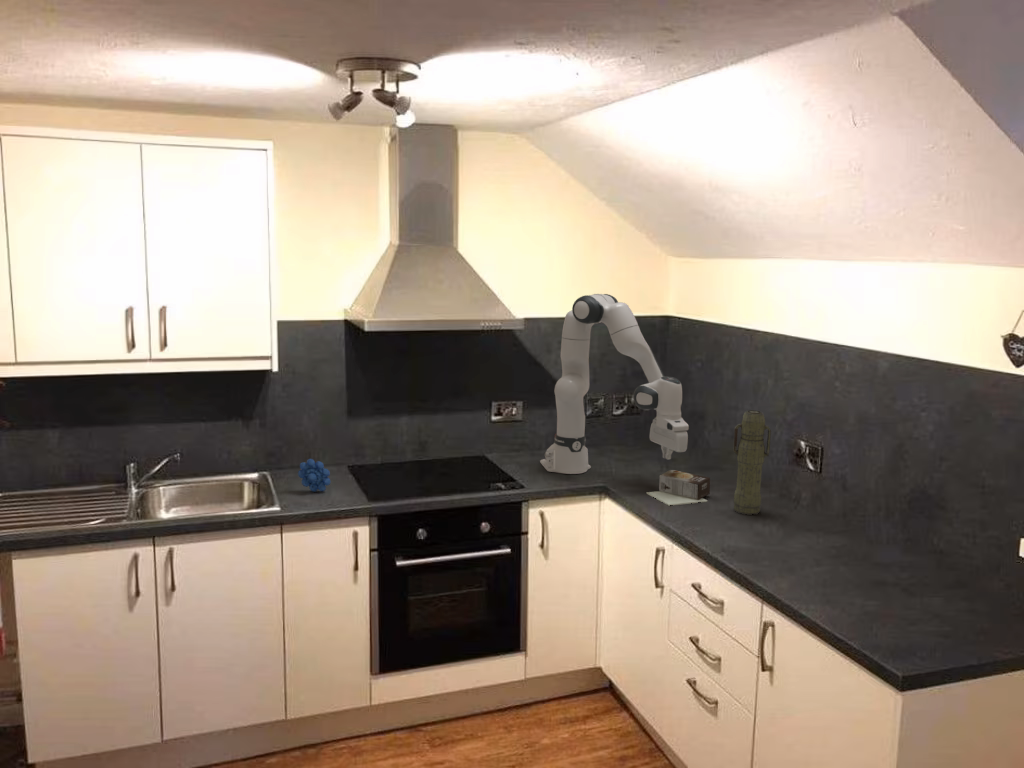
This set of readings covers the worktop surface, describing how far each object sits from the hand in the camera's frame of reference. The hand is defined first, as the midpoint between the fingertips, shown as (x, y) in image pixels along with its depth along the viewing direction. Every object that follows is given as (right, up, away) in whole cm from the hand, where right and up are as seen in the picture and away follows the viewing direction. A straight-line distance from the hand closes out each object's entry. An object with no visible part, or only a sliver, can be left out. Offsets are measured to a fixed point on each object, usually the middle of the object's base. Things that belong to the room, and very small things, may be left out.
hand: (666, 458), depth 317 cm
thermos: (+24, -17, -19) cm, 35 cm away
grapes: (-127, -11, -11) cm, 128 cm away
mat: (+3, -14, -6) cm, 15 cm away
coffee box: (0, -8, +3) cm, 9 cm away
